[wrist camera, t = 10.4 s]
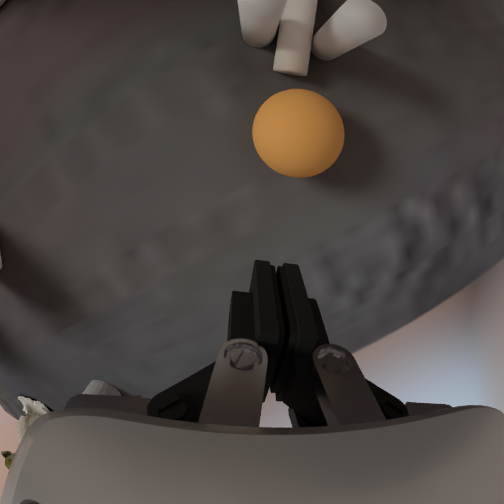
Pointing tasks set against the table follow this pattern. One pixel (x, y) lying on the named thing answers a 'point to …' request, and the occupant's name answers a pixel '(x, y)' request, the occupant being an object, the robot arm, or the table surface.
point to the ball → (298, 133)
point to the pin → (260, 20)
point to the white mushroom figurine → (26, 422)
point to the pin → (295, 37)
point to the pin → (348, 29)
